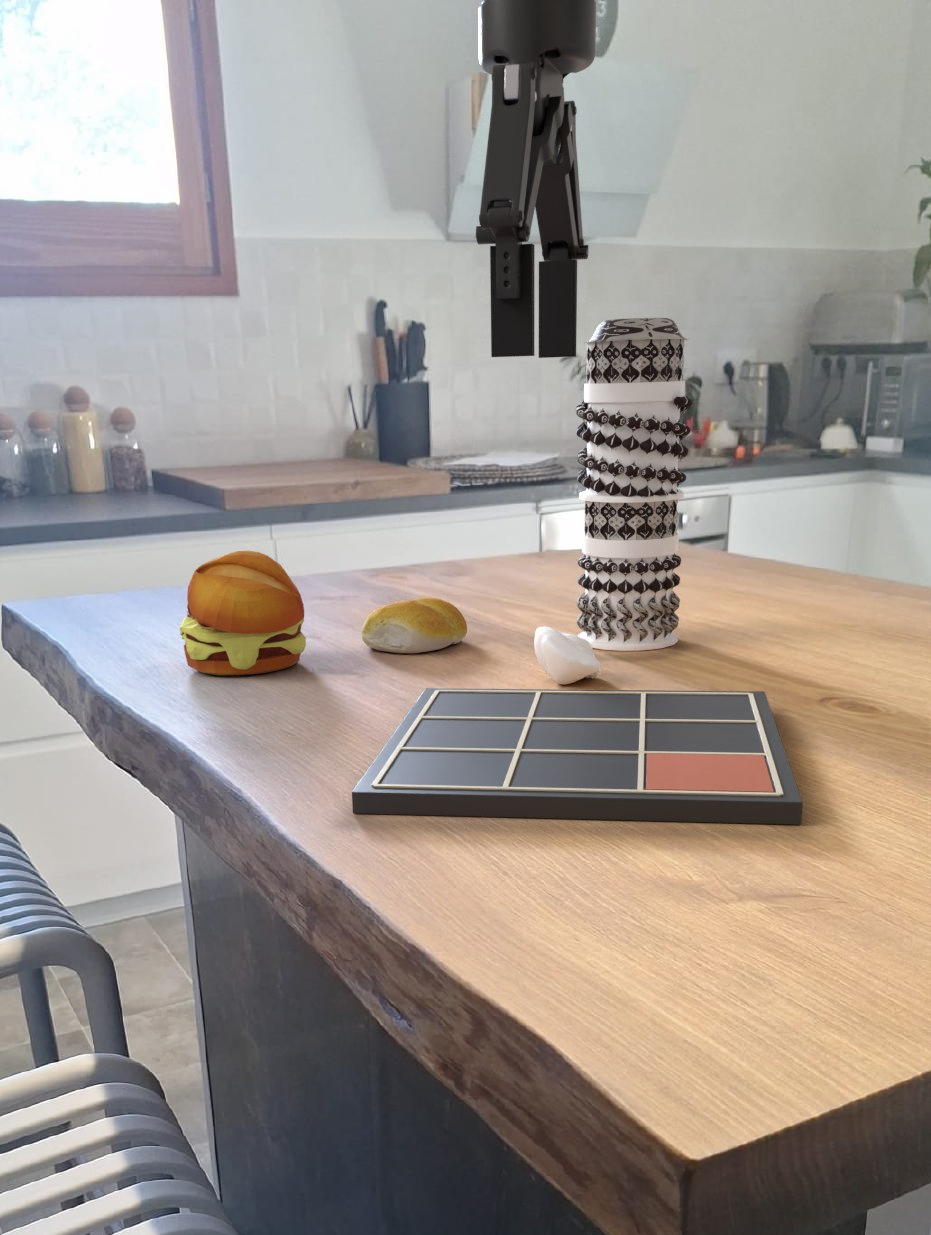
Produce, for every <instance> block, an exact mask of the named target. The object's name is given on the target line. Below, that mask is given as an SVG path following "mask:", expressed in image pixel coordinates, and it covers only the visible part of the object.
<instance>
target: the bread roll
mask: <svg viewBox="0 0 931 1235" xmlns="http://www.w3.org/2000/svg"><path fill="white" fill-rule="evenodd" d="M467 634H468V624H467V621H466V619H465V617H464V615H463V614H462V612H461V611H460V610H459V608H458V607H456V606H455V605H454V604H452V603H451V602H449V601H447V600H445V599H442V598H439V597H433V596H420V597H416V598H413V599H408V600H399V601H394V602H390V603H387V604H385V605H382V606H379V607H377V608H375V609H374V610H372V611H371V612H370V613H369V614H368V616H367V618H366V619H365V620H364V623H363V625H362V628H361V639H362V641H363V643H364V644H365V645H366V646H367V647H369V648H371V649H373V650H376V651H379V652H387V653H393V654H394V653H395V654H421V653H427V652H433V651H437V650H441V649H445V648H447V647H449V646H450V645H455V644H459V643H460V642H462V641H463V640H464V638H465V637H466V636H467Z"/></svg>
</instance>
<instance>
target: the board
mask: <svg viewBox="0 0 931 1235" xmlns="http://www.w3.org/2000/svg"><path fill="white" fill-rule="evenodd" d="M787 755H788V754H787V753H786V750H785V747H784V744H783V741H782V738H781V735H780V732H779V730H778V726H777V724H776V721H775V717H774V715H773V712H772V708H771V706H770V703H769V701H768V697H767V695H766V692H765V691H764V690H763V691H759V690H758V691H757V690H755V691H753V690H752V691H751V690H741V691H740V690H663V689H661V690H659V689H658V690H657V689H656V690H654V689H652V690H651V689H648V690H647V689H646V690H645V689H644V690H643V689H557V688H556V689H553V688H552V689H549V688H548V689H547V688H545V689H544V688H543V689H542V688H541V689H539V688H537V689H536V688H534V689H533V688H450V687H449V688H447V687H446V688H443V687H442V688H441V687H440V688H436V687H435V688H433V687H425V689H424V690H423V691H422V693H421V694H420V696H419V697H418V698H417V700H416V701H415V703H414V704H413V705H412V707H411V708H410V710H409V711H408V713H407V714H406V715H405V717H404V718H403V720H402V721H401V722H400V724H399V725H398V726H397V728H396V729H395V731H394V732H393V734H392V735H391V737H390V738H389V739H388V741H387V742H386V743H385V745H384V746H383V748H382V749H381V751H380V752H379V753H378V755H377V756H376V757H375V759H374V760H373V762H372V763H371V765H370V766H369V767H368V769H367V770H366V772H365V773H364V774H363V775H362V777H361V778H360V780H359V781H358V782H357V783H356V784H357V785H355V787H354V789H352V791H351V802H352V803H351V804H352V813H353V814H366V815H367V814H368V815H403V816H405V815H406V816H443V817H481V818H484V817H486V818H487V817H488V818H518V819H519V818H523V819H525V818H527V819H559V820H560V819H561V820H602V821H603V820H604V821H636V822H637V821H638V822H639V821H640V822H678V823H679V822H680V823H716V824H717V823H718V824H719V823H721V824H757V825H758V824H759V825H795V826H796V825H798V826H800V825H801V824H802V817H803V805H804V803H803V800H802V796H801V794H800V791H799V788H798V784H797V782H796V778H795V776H794V773H793V770H792V767H791V765H790V762H789V759H788V756H787Z"/></svg>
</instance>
